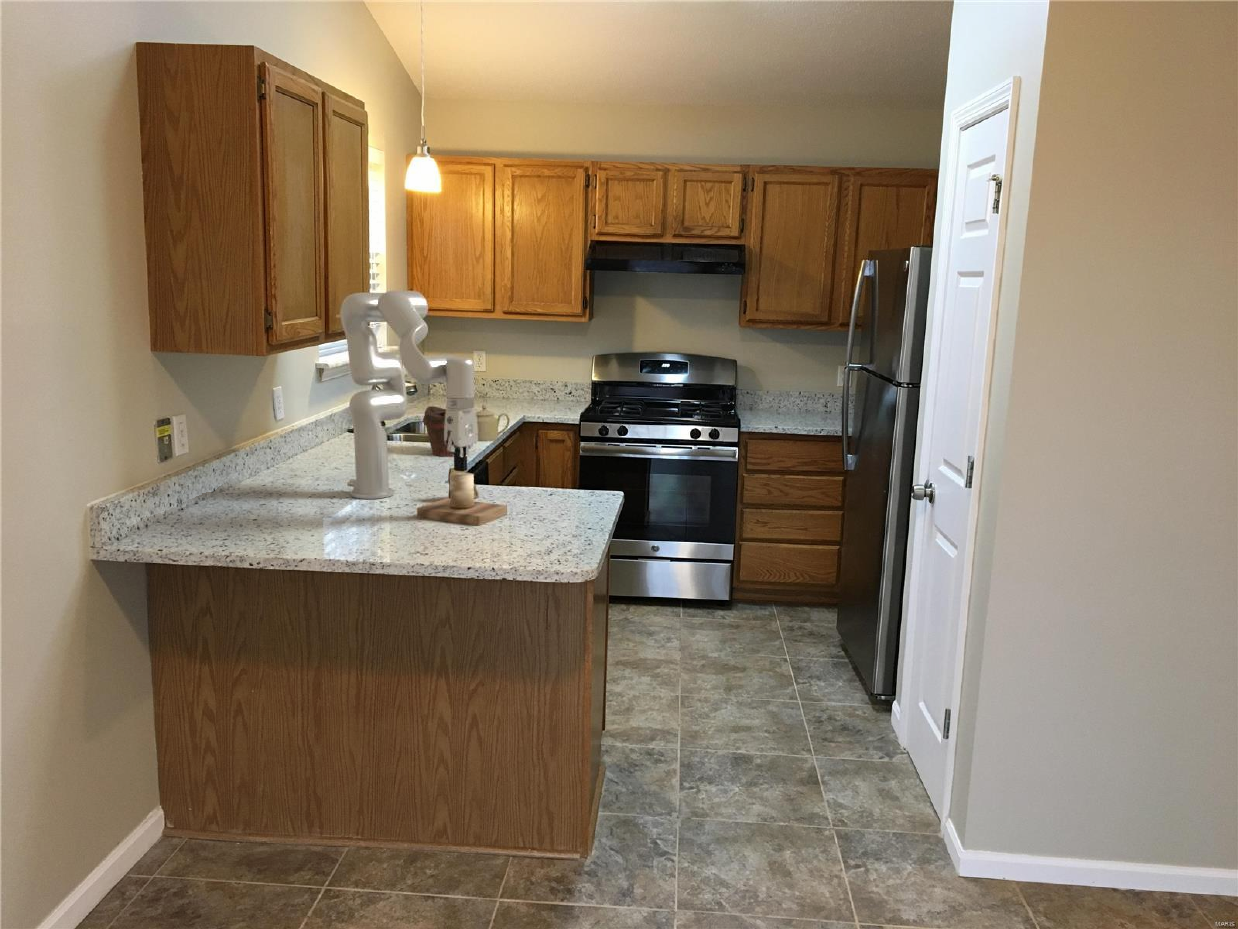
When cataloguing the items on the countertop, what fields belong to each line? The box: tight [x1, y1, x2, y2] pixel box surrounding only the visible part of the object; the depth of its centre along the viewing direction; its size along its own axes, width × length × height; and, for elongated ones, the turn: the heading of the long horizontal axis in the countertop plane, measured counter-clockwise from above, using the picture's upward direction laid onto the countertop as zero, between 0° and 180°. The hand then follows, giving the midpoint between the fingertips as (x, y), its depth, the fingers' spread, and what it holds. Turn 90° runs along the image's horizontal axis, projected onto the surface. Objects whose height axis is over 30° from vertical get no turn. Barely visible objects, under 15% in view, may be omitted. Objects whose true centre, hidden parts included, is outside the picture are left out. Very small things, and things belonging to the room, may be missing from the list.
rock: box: [447, 467, 480, 499], centre depth 276 cm, size 11×9×10 cm
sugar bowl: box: [476, 403, 511, 442], centre depth 391 cm, size 15×11×15 cm
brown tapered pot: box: [422, 405, 454, 458], centre depth 353 cm, size 18×20×18 cm
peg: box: [450, 472, 475, 510], centre depth 256 cm, size 6×6×12 cm
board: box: [416, 497, 508, 526], centre depth 257 cm, size 20×14×3 cm
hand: (460, 470), depth 255 cm, fingers closed
